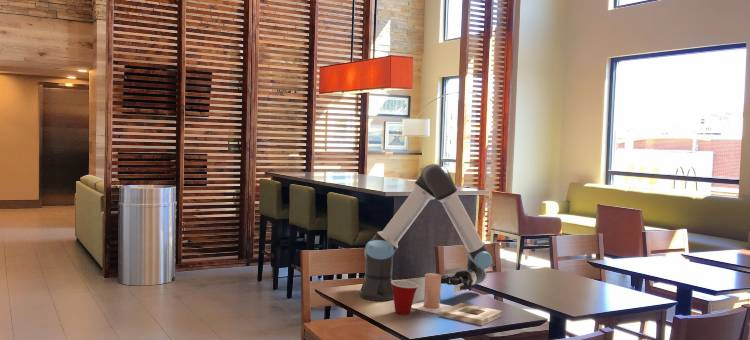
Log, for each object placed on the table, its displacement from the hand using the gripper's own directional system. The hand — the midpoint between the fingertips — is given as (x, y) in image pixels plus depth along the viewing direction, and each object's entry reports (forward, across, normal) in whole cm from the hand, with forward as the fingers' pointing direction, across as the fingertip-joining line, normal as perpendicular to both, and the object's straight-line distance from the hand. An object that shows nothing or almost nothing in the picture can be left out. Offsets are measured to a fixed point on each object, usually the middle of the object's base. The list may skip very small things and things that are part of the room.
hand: (440, 286), depth 266 cm
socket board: (+6, -17, -8) cm, 20 cm away
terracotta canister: (+6, +1, -8) cm, 9 cm away
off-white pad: (+6, +1, -8) cm, 10 cm away
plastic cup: (+21, +4, -8) cm, 23 cm away
